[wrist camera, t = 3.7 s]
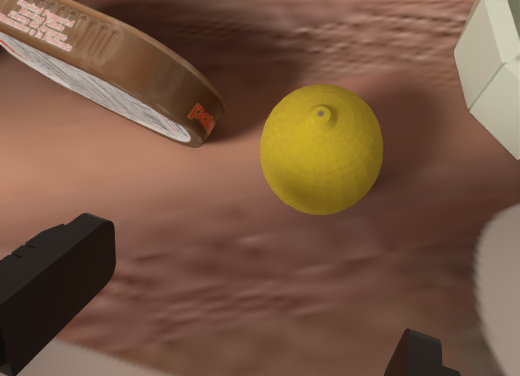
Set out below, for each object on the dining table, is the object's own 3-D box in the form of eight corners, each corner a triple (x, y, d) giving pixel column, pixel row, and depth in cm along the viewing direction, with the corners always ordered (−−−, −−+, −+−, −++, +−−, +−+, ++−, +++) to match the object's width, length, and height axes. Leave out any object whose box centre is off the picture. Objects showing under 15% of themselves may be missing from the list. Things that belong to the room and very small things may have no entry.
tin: (241, 129, 25) (206, 40, 17) (214, 174, 24) (164, 105, 16) (51, 40, 28) (-54, -68, 20) (23, 77, 28) (-96, -19, 20)
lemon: (343, 118, 24) (356, 27, 16) (388, 204, 22) (427, 148, 15) (254, 156, 24) (226, 83, 16) (292, 245, 22) (280, 210, 15)
